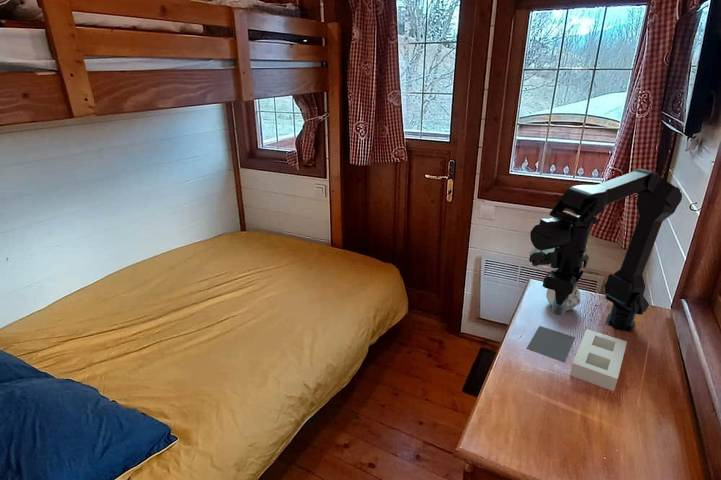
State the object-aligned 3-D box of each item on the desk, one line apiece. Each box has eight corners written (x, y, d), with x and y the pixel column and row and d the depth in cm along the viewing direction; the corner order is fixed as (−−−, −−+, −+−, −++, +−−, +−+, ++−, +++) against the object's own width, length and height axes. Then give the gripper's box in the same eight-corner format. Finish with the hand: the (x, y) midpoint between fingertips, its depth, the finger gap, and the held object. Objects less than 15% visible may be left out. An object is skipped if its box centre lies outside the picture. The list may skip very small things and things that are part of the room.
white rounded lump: (541, 312, 124) (547, 281, 120) (546, 297, 132) (552, 268, 128) (575, 321, 120) (582, 290, 116) (579, 305, 128) (586, 275, 124)
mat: (539, 327, 118) (539, 325, 117) (575, 339, 113) (575, 337, 113) (525, 350, 109) (526, 348, 108) (564, 364, 104) (564, 362, 104)
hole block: (583, 342, 112) (586, 329, 110) (623, 354, 107) (627, 341, 105) (569, 376, 100) (572, 363, 98) (613, 393, 95) (617, 379, 93)
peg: (553, 307, 109) (560, 271, 105) (566, 311, 107) (573, 275, 103) (550, 312, 106) (557, 276, 102) (563, 316, 105) (571, 280, 101)
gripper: (546, 222, 110) (537, 277, 117) (524, 248, 97) (514, 308, 103) (595, 232, 105) (582, 289, 111) (578, 260, 91) (565, 323, 97)
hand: (560, 301), depth 105 cm, fingers closed on peg, 3 cm apart
